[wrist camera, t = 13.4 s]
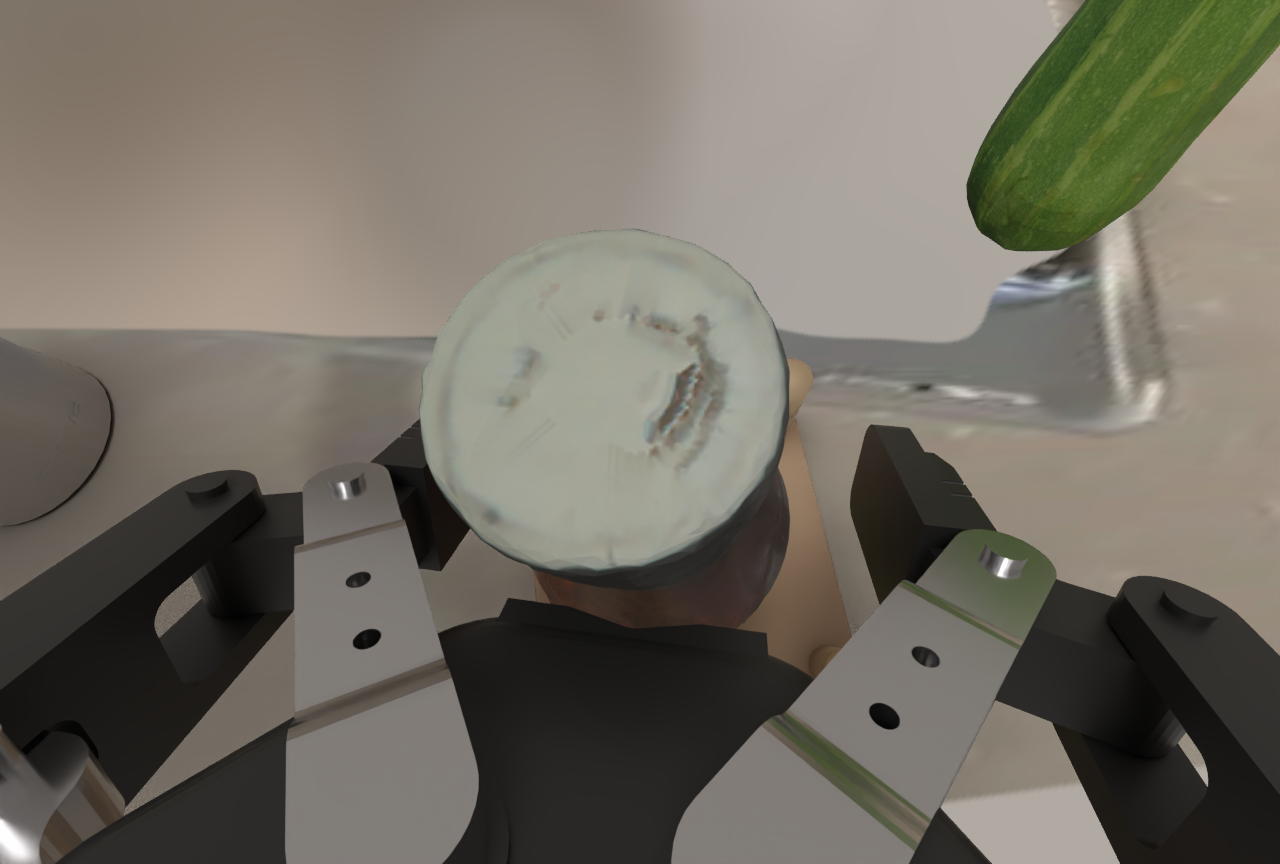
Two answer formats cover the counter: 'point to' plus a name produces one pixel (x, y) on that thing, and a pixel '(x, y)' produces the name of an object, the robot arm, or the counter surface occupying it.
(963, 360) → the counter surface
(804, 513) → the peg stand
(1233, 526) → the counter surface
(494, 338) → the sauce bottle
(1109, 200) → the vegetable
